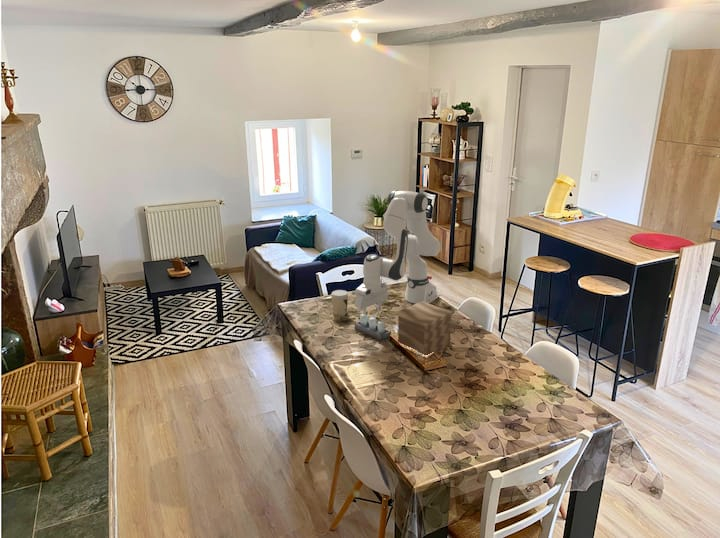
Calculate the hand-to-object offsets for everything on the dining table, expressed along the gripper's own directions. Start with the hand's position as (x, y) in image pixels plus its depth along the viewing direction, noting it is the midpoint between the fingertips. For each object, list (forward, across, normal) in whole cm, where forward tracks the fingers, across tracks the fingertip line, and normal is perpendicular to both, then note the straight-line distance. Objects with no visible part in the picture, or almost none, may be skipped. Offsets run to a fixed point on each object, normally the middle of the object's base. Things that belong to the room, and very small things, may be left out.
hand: (372, 312), depth 280 cm
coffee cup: (+12, -6, -31) cm, 34 cm away
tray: (+12, 0, 0) cm, 12 cm away
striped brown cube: (+12, -8, +28) cm, 31 cm away
